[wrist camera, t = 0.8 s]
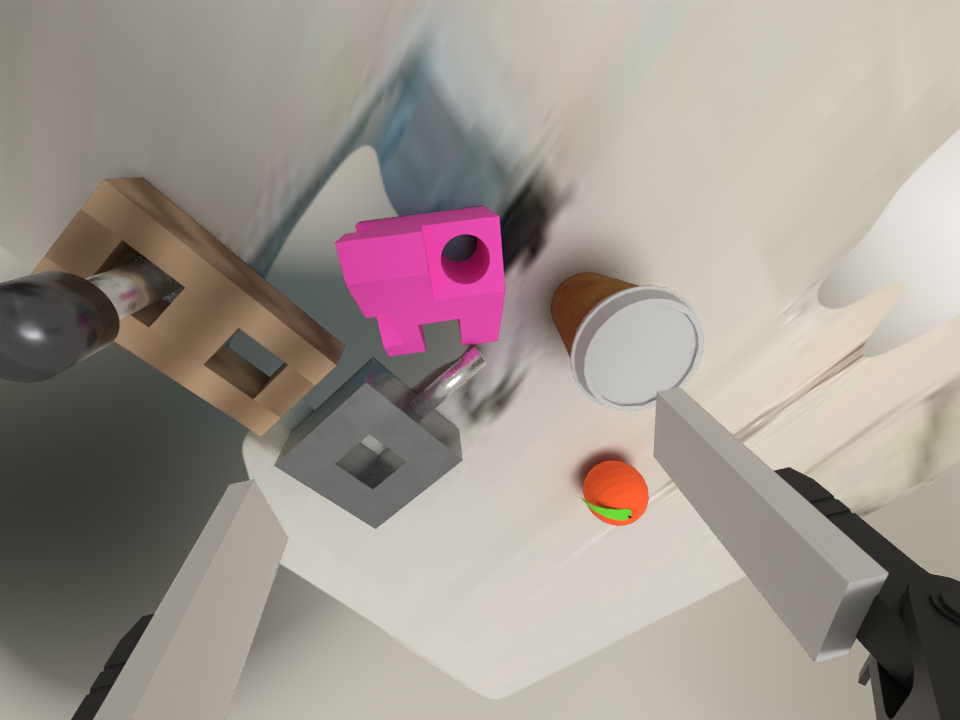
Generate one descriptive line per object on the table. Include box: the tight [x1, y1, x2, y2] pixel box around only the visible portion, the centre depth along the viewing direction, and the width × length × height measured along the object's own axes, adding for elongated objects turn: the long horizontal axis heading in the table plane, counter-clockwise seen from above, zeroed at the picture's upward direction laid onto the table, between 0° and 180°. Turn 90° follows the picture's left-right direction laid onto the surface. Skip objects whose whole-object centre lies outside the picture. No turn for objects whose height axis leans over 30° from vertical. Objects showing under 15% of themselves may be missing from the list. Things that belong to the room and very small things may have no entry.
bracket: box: [335, 206, 505, 356], centre depth 31 cm, size 12×10×10 cm
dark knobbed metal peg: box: [0, 258, 184, 383], centre depth 26 cm, size 5×5×14 cm
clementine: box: [581, 461, 649, 526], centre depth 45 cm, size 8×7×7 cm
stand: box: [31, 178, 345, 436], centre depth 33 cm, size 19×10×4 cm, turn 41°
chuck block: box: [274, 347, 488, 529], centre depth 39 cm, size 12×20×5 cm, turn 131°
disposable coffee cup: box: [551, 272, 704, 411], centre depth 33 cm, size 10×10×12 cm
